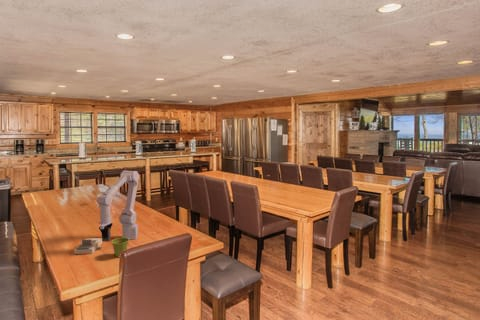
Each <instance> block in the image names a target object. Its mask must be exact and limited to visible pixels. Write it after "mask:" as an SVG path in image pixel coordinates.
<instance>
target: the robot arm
mask: <svg viewBox="0 0 480 320" xmlns="http://www.w3.org/2000/svg"><path fill="white" fill-rule="evenodd" d="M139 179H140V174H139V172H138V171H137V170H122V172H121V173H120V176H119V178H118V179H117V180H116V182H115V183H114V184H113V185H110V186H108V188H107V189H106V191H104V193H103V194H100V195H99V196H98V197H97V200H96V202H97V204H98V207H99V216H100V217H99V218H100V221H98V225H99V227H98V229H99V231H100V233H101V237H102V236H103V238H107V237H108V230H109V228H110V231H111V229H112V226H113V224H114V223H112V218H111V217H112V216H111V204H112V202H113V201H114V200H113V199H114V197H115V196H116V195H117V194H118V193H119V189H120V188H121V187H122V186H123V185H124V184H125V183H127V184H128V189H127V195H126V199H125V201H126V202H125V205H124V206H125V207H124V209H123V210H121V212H120V216H119V218H118V221H119V223H120V224H121V229H122V230H121V231H122V237H121V238H128V239H129V240H135V239H137V237H138V236H139V225H138V224H137V223H136V222H137V212H136V211H135V210H134V209H135V201H136V198H137V197H136V196H137V191H138V185H139Z"/></svg>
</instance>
